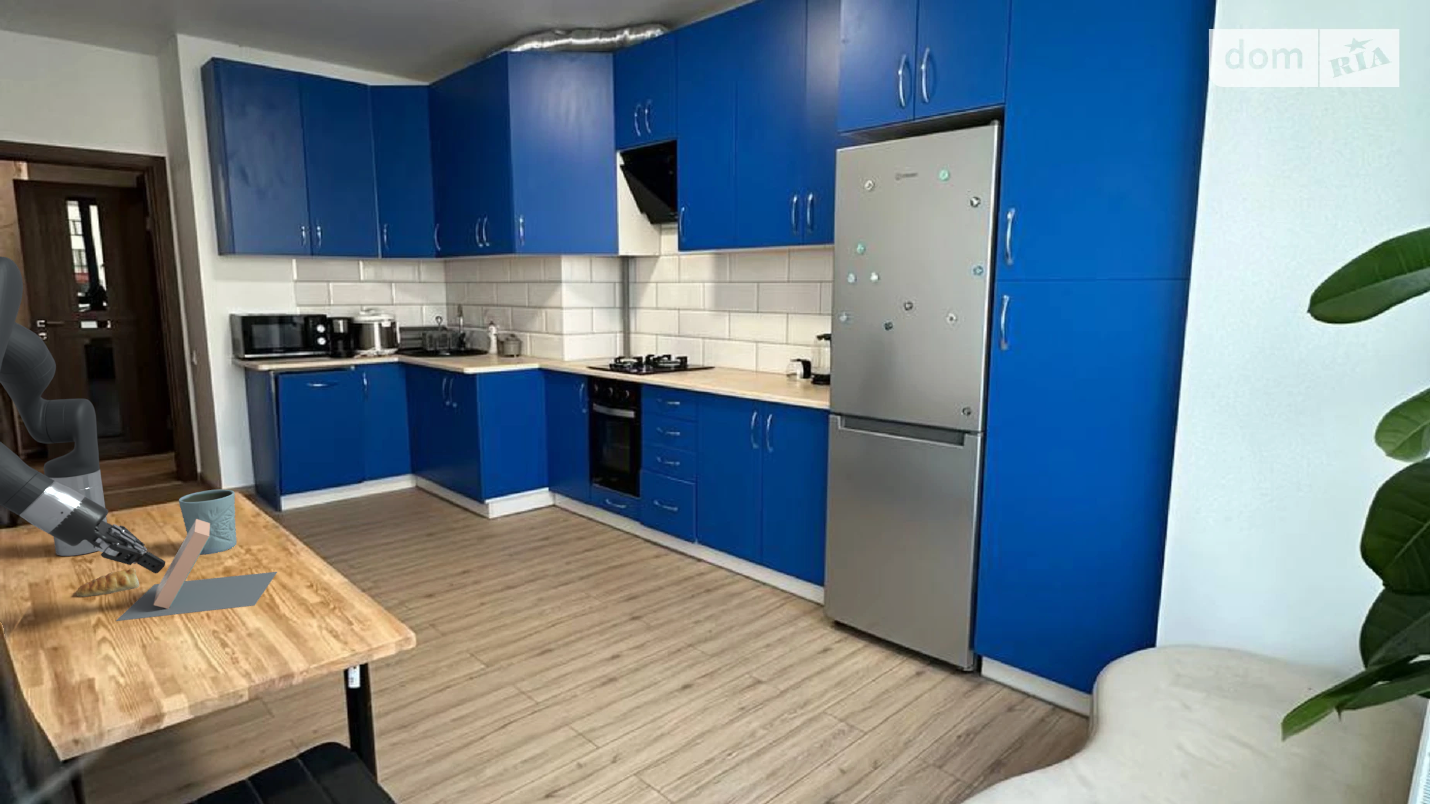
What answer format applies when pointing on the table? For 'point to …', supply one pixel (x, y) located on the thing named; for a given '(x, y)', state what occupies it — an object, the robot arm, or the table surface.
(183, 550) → the tile
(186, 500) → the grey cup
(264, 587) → the mat
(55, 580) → the table surface
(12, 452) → the robot arm
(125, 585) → the pastry
